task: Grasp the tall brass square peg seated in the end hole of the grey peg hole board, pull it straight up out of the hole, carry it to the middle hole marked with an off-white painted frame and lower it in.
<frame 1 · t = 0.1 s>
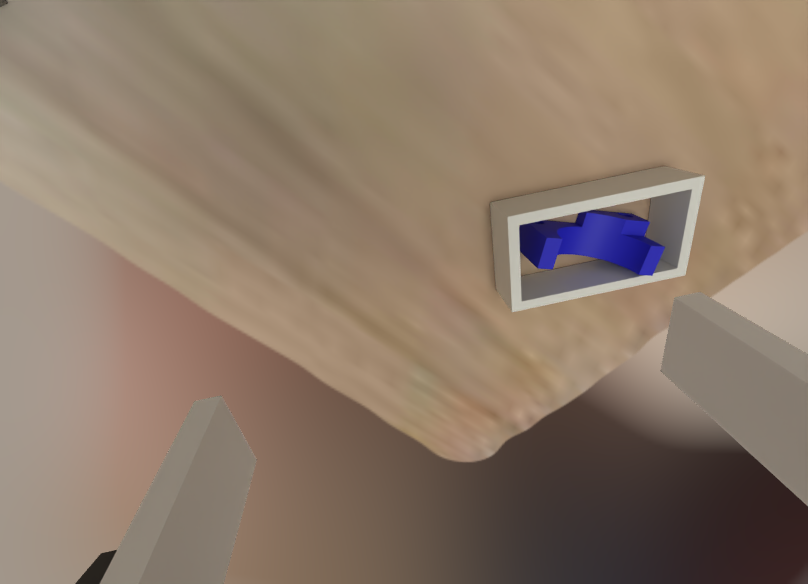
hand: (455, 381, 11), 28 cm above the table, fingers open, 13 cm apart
blue arch block: (571, 228, 41), resting in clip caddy
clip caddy: (575, 231, 40), on the table
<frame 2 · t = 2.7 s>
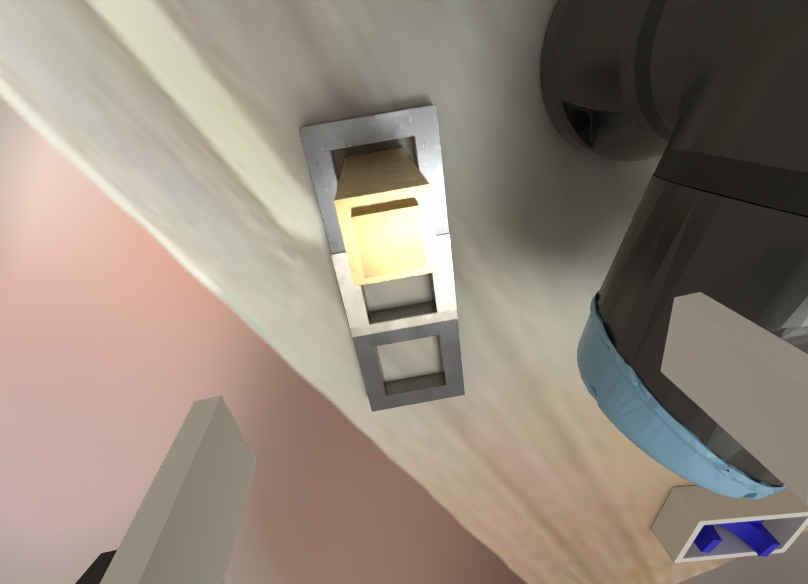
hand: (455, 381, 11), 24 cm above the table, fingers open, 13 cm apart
grey peg hole board: (396, 278, 36), on the table
blue arch block: (709, 503, 59), resting in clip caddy
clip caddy: (715, 504, 59), on the table
brass peg: (379, 181, 31), resting in grey peg hole board
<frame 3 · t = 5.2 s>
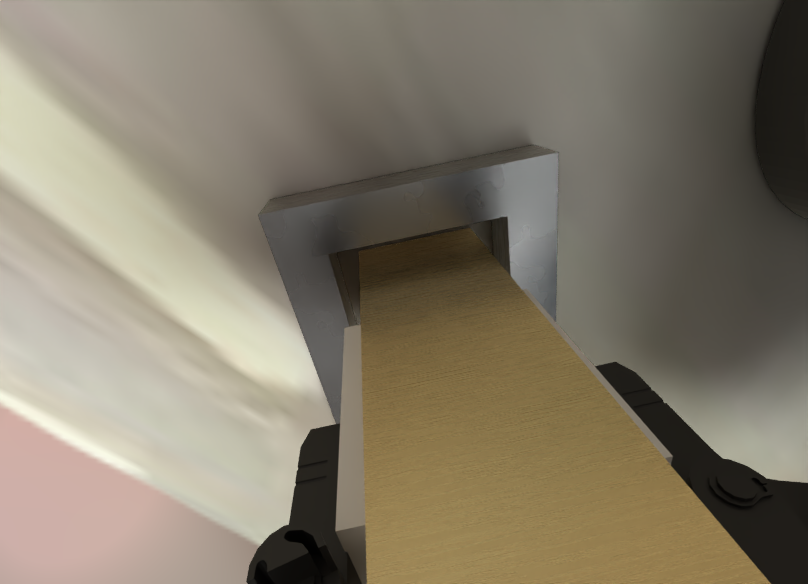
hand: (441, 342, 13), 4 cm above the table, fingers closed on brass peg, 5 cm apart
grey peg hole board: (448, 431, 21), on the table
brass peg: (423, 288, 17), resting in grey peg hole board, touching gripper
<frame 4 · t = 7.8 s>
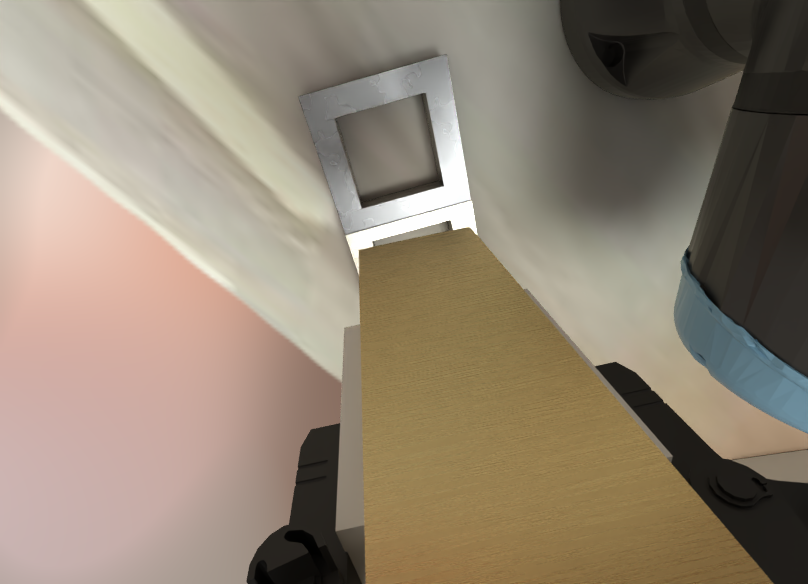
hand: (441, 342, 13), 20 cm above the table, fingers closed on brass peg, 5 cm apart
grey peg hole board: (416, 256, 33), on the table
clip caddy: (778, 475, 54), on the table
brass peg: (422, 287, 17), point 16 cm above the table, touching gripper
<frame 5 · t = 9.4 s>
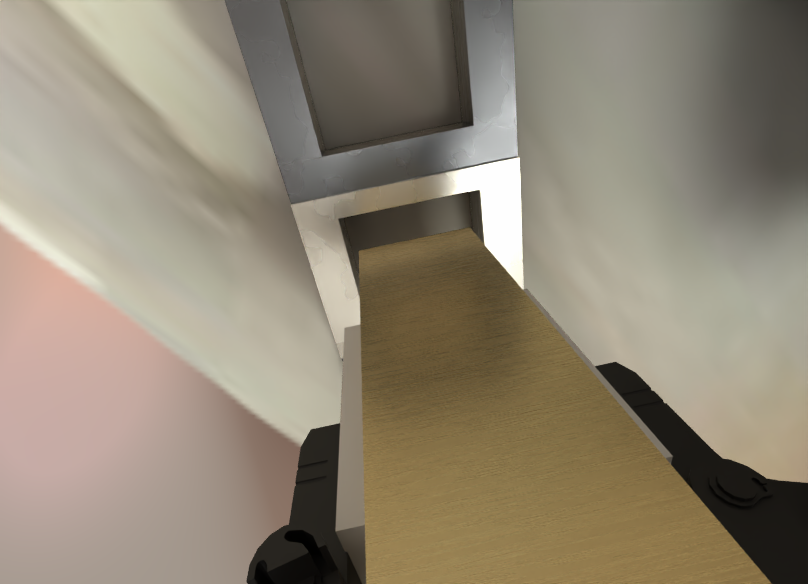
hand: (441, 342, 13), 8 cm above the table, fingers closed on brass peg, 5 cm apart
grey peg hole board: (414, 251, 20), on the table
brass peg: (423, 288, 17), point 4 cm above the table, touching gripper
when the fingers open (5 cm above the table, at t = 10.7 s): brass peg stays where it is, resting in grey peg hole board.
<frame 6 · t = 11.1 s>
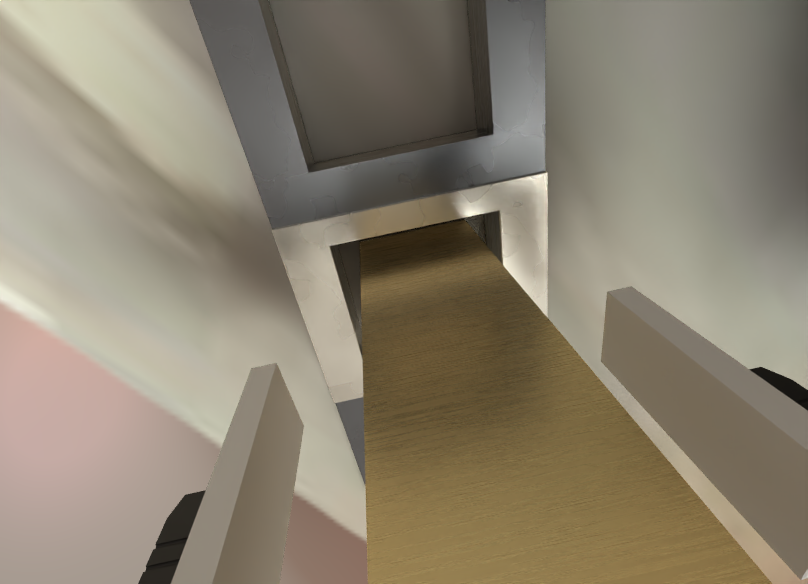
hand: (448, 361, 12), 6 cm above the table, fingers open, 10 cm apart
grey peg hole board: (419, 278, 17), on the table
brass peg: (420, 277, 17), resting in grey peg hole board
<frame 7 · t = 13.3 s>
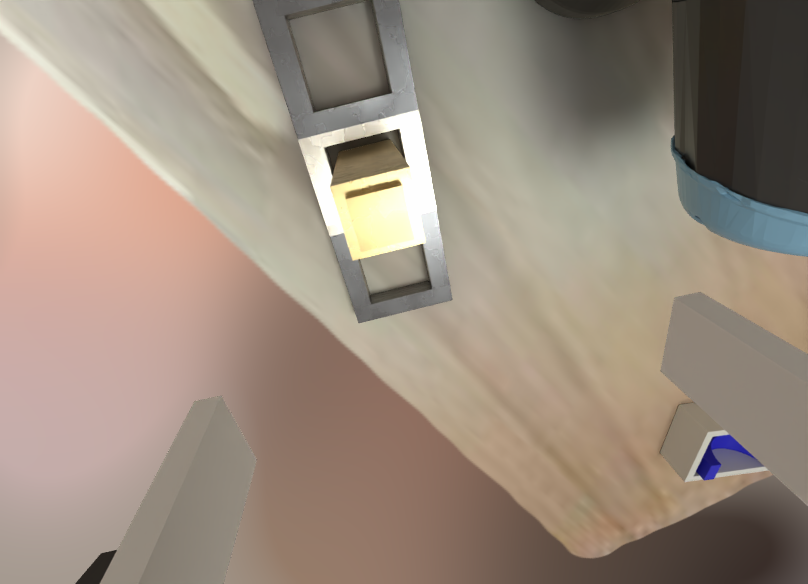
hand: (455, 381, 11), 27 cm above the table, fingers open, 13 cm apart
grey peg hole board: (370, 172, 34), on the table
blue arch block: (712, 429, 58), resting in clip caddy
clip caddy: (725, 422, 57), on the table
brass peg: (371, 171, 35), resting in grey peg hole board
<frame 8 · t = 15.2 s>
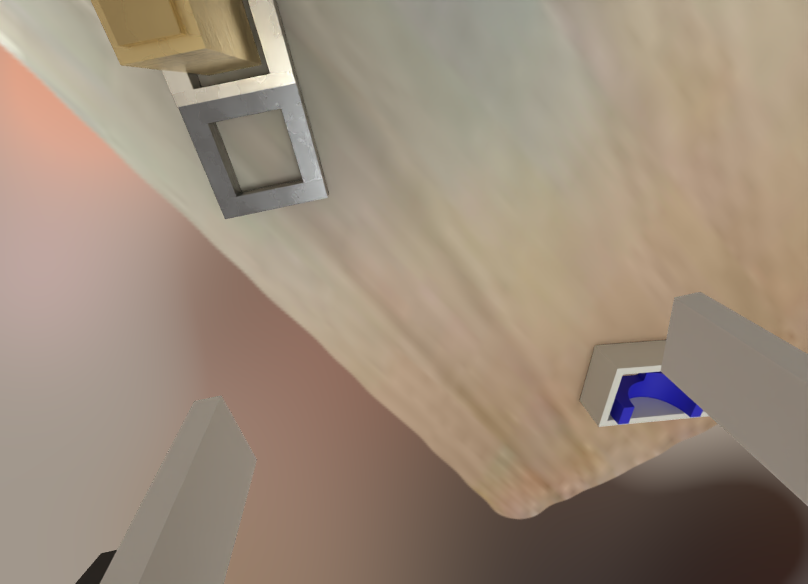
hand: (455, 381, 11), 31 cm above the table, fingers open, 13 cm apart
grey peg hole board: (224, 38, 32), on the table
blue arch block: (634, 377, 56), resting in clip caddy
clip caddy: (646, 369, 55), on the table
brass peg: (224, 38, 32), resting in grey peg hole board
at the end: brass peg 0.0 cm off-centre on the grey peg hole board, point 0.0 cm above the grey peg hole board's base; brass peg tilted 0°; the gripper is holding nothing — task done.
